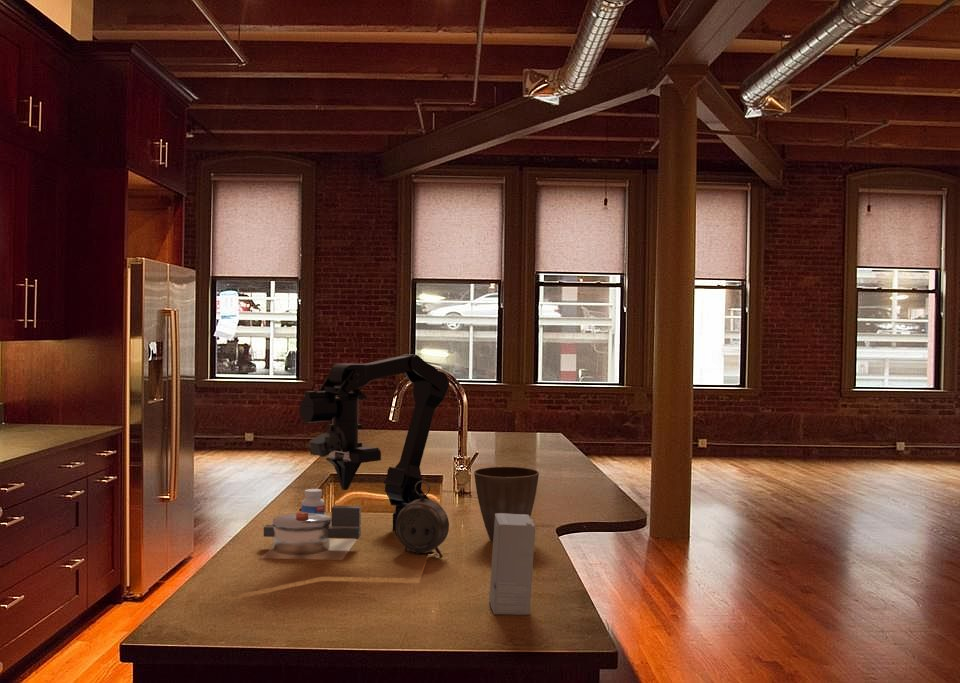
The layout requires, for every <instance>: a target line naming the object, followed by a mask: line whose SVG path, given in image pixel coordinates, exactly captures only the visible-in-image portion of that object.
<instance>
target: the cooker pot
mask: <svg viewBox="0 0 960 683" xmlns="http://www.w3.org/2000/svg"><path fill="white" fill-rule="evenodd" d="M361 528H362V527H361V526H360V527H335V526H331V524H330V525H329V526H326V527H323V528H317V529H309V530H288V529H281V528H277V527H274V526H273V524H266V525H265V526H263V537H265V538H267V537H268V538H271V537H272V538H273V540H272V543H273V546H272V547H273V550H274V551H275V552H278V553H281V554H288V555H308V554H316V553H321V552H324V551H327V550H328V549H330V539H357V540H358V539H359V538H360V537H361V532H362V531H361Z"/></svg>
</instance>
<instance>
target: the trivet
mask: <svg viewBox="0 0 960 683" xmlns="http://www.w3.org/2000/svg"><path fill="white" fill-rule="evenodd" d="M357 540H358V539H355V538H330V549H328V550H327V551H324V552H321V553H316V554H308V555H288V554H281V553H278V552H275V551H274V550H273V546H272V547H271V548H269V550H267V552H265V553H264V554H263V555H262V556H261V557H260V559H280V560H281V559H282V560H283V559H285V560H286V559H287V560H289V559H290V560H324V561H325V560H330V561H331V560H334V561H335V560H336V561H342V560H344V558H346V556H347V555H348V553H349V552H350V550H351V549H352V547H353V546H354V545H355V544H356V542H357Z"/></svg>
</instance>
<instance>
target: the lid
mask: <svg viewBox="0 0 960 683" xmlns="http://www.w3.org/2000/svg"><path fill="white" fill-rule="evenodd" d="M361 522H362V506H361V505H332V506H331V516H330V515H327V514H325V513H324V514H316V513H307V512H301V511H299V512H296V513H288V514H283V515H282V514H281V515H278V516H274V518H272V525H273V526H274V527H277V528H281V529H288V530H309V529H317V528H323V527H326V526H329V525H330V526H335V527H361V524H362V523H361Z"/></svg>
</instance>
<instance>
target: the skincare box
mask: <svg viewBox="0 0 960 683" xmlns="http://www.w3.org/2000/svg"><path fill="white" fill-rule="evenodd" d="M533 521H534V519H533V518H531V516H529V515H526V514H507V513H496V514H495V523H494V537H493V542H492V551H491V553H492V554H491V567H490V583H489V584H490V585H489V595H488V597H489V598H488V599H489V604H490V607H491V611H492V613H493V615H517V616H519V615H520V616H522V615H523V616H525V615H530V614H531V601H532V600H531V599H532V598H531V597H532V584H533V583H532V582H533V568H534V554H535V542H536V540H535V538H536V525H535V524H534V522H533Z"/></svg>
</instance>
